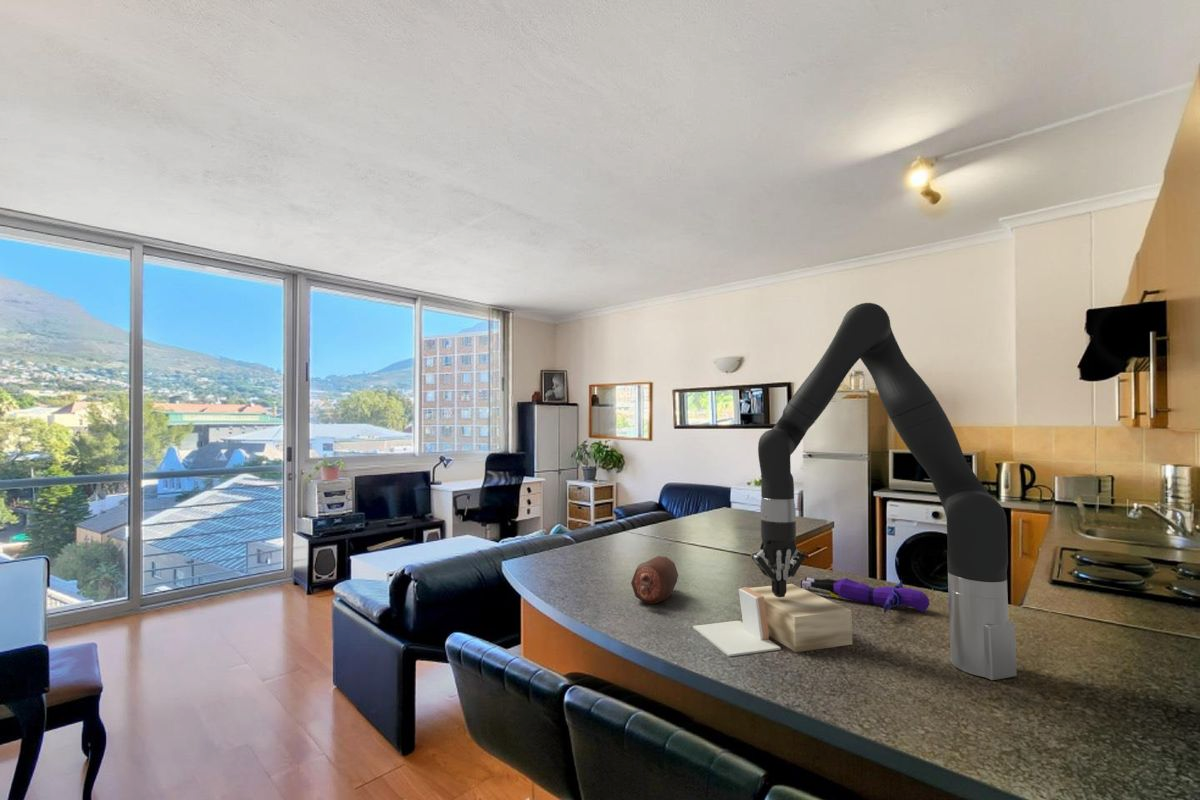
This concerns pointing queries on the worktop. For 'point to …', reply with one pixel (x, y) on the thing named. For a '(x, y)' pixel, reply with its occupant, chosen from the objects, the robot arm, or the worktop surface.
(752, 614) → the tile
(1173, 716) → the worktop surface
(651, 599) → the meat
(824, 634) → the block
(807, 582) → the toy
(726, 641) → the mat
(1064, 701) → the worktop surface
